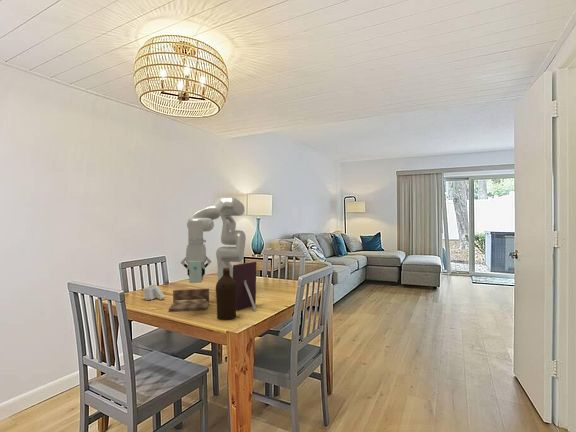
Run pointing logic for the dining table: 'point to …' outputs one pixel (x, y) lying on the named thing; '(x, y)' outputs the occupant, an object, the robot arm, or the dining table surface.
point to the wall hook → (153, 292)
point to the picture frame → (245, 285)
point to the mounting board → (190, 300)
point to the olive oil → (226, 296)
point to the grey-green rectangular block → (195, 272)
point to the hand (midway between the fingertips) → (196, 276)
